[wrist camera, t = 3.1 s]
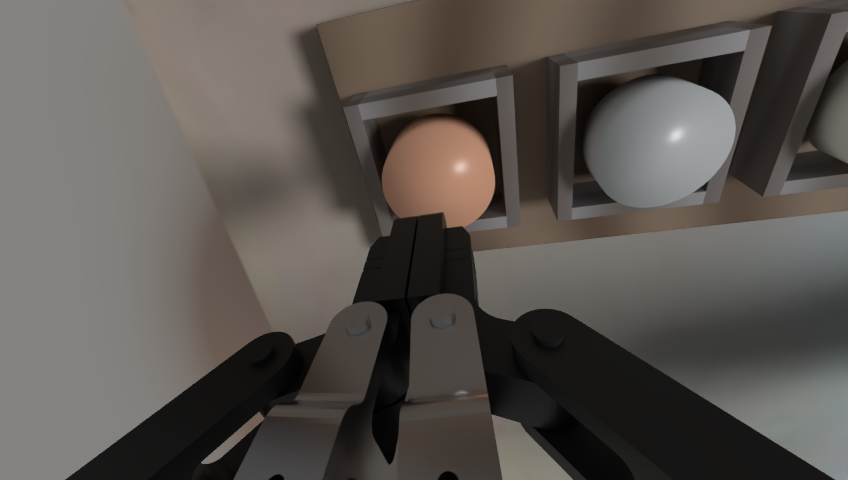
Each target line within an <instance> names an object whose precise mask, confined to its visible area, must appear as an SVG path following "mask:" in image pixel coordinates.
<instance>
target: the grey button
mask: <svg viewBox="0 0 848 480" xmlns="http://www.w3.org/2000/svg"><path fill="white" fill-rule="evenodd" d="M735 130H736V125H735V118H734V114H733V111H732V109H731V107H730V106H729V104H728V103H727V102H726V101H725V99H724V98H722V97H721V96H720V95H719V94H717V93H715V92H713V91H711V90H709V89H706V88H704V87H701V86H699V85H696V84H694V83H691V82H689V81H686V80H684V79H681V78H679V77H676V76H673V75H667V74H651V75H645V76H641V77H637V78H635V79H632V80H629V81H627V82H625V83H623V84H621V85H620V86H618V87H617V88H615V89H614V90H612V91H611V92H610V93H608V94H607V95H606V96H605V97H604V98H603V99H602V100H601V101H600V102H599V103H598V104H597V105H596V107H595V108H594V109H593V111H592V112H591V114H590V115H589V117H588V119H587V121H586V123H585V125H584V128H583V131H582V135H581V142H580V150H581V156H582V159H583V162H584V164H585V165H586V167H587V169H588V170H589V171H590V173H591V174H592V175H593V177H594V178H595V180H596V181H597V182H598V184H599V185H600V187H601V188H602V189H603V190H604V192H605V193H606V194H607V195H608V196H609V197H610V198H612V199H613V200H615V201H616V202H618V203H621V204H623V205H627V206H631V207H638V208H648V207H657V206H662V205H665V204H669V203H672V202H675V201H677V200H679V199H682V198H684V197H686V196H688V195H689V194H691V193H693V192H694V191H696V190H697V189H699V188H700V187H701V186H703V185H704V184H705V183H706V182H707V181H709V180H710V179H711V178H712V177H713V176H714V175H715V174H716V172H717V171H718V170H719V169H720V167H721V166H722V165H723V163H724V162H725V160H726V158H727V157H728V155H729V153H730V151H731V148H732V145H733V142H734V138H735Z"/></svg>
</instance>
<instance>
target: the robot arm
mask: <svg viewBox="0 0 848 480" xmlns="http://www.w3.org/2000/svg"><path fill="white" fill-rule="evenodd" d="M366 260H367V262H365V266H364V269H363V270H364V272H362V275H361V278H360V281H359V284H358V288H357V291H356V294H355V297H354V300H353V303H352V305H350V306H348V307H346V308H345V309H343V310H342V311H340V312H339V313H338V314H337V315H336V316H335V317H334V318H333V320H332V321H331V323H330V325H329V327H328V329H327V332H326V333H325V334H323V335H320V336H317V337H314V338H312V339H309V340H306V341H303V342H300V343H298V344H295V343H294V341H293V339H292V338H291V337H290V335H288V334H287V333H284V332H272V333H267V334H264V335H262V336H260V337H258V338H256V339H254V340H253V341H251V342H250V343H248V344H247V345H246V346H244V347H243V348H242V349H240V350H239V351H238V352H236V353H235V354H234V355H232V356H231V357H229V358H228V359H227V360H225V361H224V362H223V363H221V364H220V365H219V366H218V367H216V368H215V369H213V370H212V371H211V372H209V373H208V374H207V375H205V376H204V377H203V378H201V379H200V380H199V381H197V382H196V383H195V384H193V385H192V386H191V387H189V388H188V389H187V390H185V391H184V392H182V394H180V395H178V396H177V397H176V398H174V399H173V400H172V401H170V402H169V403H168V404H166V405H165V406H164V407H162V408H161V409H160V410H158V411H157V412H156V413H154V414H153V415H152V416H150V417H149V418H148V419H146V420H145V421H144V422H142V423H141V424H140V425H138V426H137V427H136V428H134V429H133V430H131V431H130V432H129V433H127V434H126V435H125V436H123V437H122V438H121V439H119V440H118V441H117V442H115V443H114V444H113V445H111V446H110V447H109V448H107V449H106V450H105V451H103V452H102V453H101V454H99V455H98V456H97V457H95V458H94V459H93V460H91V461H90V462H88V463H87V464H86V465H85V466H83V467H82V468H80V469H79V470H78V471H76V472H75V473H74V474H72V475H71V476H70V477H68V478H67V479H66V480H502V474H501V468H500V462H499V456H498V450H497V445H496V439H495V433H494V427H493V421H492V415H491V414H493V415H496V416H500V417H503V418H506V419H510V420H513V421H517V422H520V423H521V425H522V426H523V428H524V429H525V431H526V432H527V433H528V434H529V435H530V436H531V437H532V438H533V439H534V440H535V441H536V442H537V443H538V444H539V445H540V446H541V447H542V448H543V449H544V450H545V451H546V452H547V453H548V454H549V455H550V456H551V457H552V458H553V459H554V460H555V461H556V462H557V463H558V464H559V465H560V466H561V467H562V468H563V469H564V471H565V472H566V473H567V474H568V475H569V476H570V477H571V478H572V479H573V480H834V479H833V478H831V477H830V476H828V475H826V474H825V473H823V472H822V471H820V470H818V469H817V468H815V467H814V466H812V465H810V464H809V463H807V462H806V461H804V460H802V459H801V458H799V457H797V456H796V455H794V454H793V453H791V452H789V451H788V450H786V449H785V448H783V447H781V446H780V445H778V444H777V443H775V442H773V441H772V440H770V439H768V438H767V437H765V436H764V435H762V434H760V433H759V432H757V431H756V430H754V429H752V428H751V427H749V426H748V425H746V424H744V423H743V422H741V421H739V420H738V419H736V418H735V417H733V416H731V415H730V414H728V413H727V412H725V411H723V410H722V409H720V408H719V407H717V406H715V405H714V404H712V403H710V402H709V401H707V400H706V399H704V398H702V397H701V396H699V395H698V394H696V393H694V392H693V391H691V390H690V389H688V388H686V387H685V386H683V385H682V384H680V383H678V382H677V381H675V380H673V379H672V378H670V377H669V376H667V375H665V374H664V373H662V372H661V371H659V370H657V369H656V368H654V367H653V366H651V365H649V364H648V363H646V362H644V361H643V360H641V359H640V358H638V357H636V356H635V355H633V354H632V353H630V352H628V351H627V350H625V349H624V348H622V347H620V346H619V345H617V344H615V343H614V342H612V341H611V340H609V339H607V338H606V337H604V336H603V335H601V334H599V333H598V332H596V331H595V330H593V329H591V328H590V327H588V326H587V325H585V324H583V323H582V322H580V321H578V320H577V319H575V318H574V317H572V316H570V315H568V314H566V313H564V312H561V311H558V310H553V309H537V310H533V311H529V312H527V313H525V314H523V315H522V316H520V317H519V318H518V319H517V320H516V321H515V322H514V321H508V320H503V319H499V318H495V317H493V316H491V315H489V314H487V313H485V312H484V311H483V310H482V309H481V308H480V307H479V303H478V291H477V279H476V270H475V264H474V257H473V251H472V244H471V238H470V234H469V233H468V232H467V231H466V230H465V229H464V227H463V226H459V227H451V228H447V225H446V219H445V215H444V212H440V213H433V214H425V215H420V216H412V217H405V218H397V219H394V221H393V225H392V229H391V233H390V236H383V237H379V238H378V240H377V241H376V242H375V243H374V244H373V245H372V246H371V247H370V250H369V253H368V256H367V259H366ZM258 412H260V413H261V415H262V416H263V417H264V418H265V419H264V420H263V421H262V422H261V423H260V424H259V425H258V426H256V427H255V428H254V429H253V430H252V431H251V432H250V433H248V434H247V435H246V436H245V437H244V438H243V439H242V440H241V441H240V442H238V443H237V444H236V445H235V446H234V447H233V448H232V449H231V450H229V452H227V453H226V454H225V455H224V456H223V457H222V458H220V459H219V460H217V461H215V462H213V463H210V464H202V463H201V462H202V461H203V460H204V459H205V458H206V457H207V456H208V455H209V454H211V453H212V452H213V451H214V450H215V449H216V448H217V447H219V446H220V445H221V444H222V443H223V442H224V441H226V440H227V439H228V438H229V437H230V436H231V435H233V434H234V432H236V431H237V430H238V429H239V428H241V427H242V426H243V425H244V424H245V423H246V422H247V421H249V420H250V419H251V418H252V417H253V416H254V415H255V414H257V413H258Z"/></svg>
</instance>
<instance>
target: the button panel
mask: <svg viewBox="0 0 848 480" xmlns="http://www.w3.org/2000/svg"><path fill="white" fill-rule="evenodd" d="M316 25H317V29H318V32H319V35H320V38H321V41H322V45H323V48H324V51H325V54H326V57H327V60H328V64H329V67H330V70H331V73H332V76H333V79H334V83H335V86H336V89H337V92H338V95H339V99H340V102H341V105H342V108H343V111H344V114H345V118H346V121H347V124H348V127H349V130H350V134H351V137H352V140H353V143H354V146H355V149H356V153H357V156H358V159H359V162H360V165H361V169H362V172H363V175H364V178H365V181H366V184H367V188H368V191H369V194H370V197H371V200H372V203H373V207H374V210H375V213H376V216H377V219H378V223H379V226H380V229H381V232H382V235H383V236H390V233H391V229H392V225H393V221H394V219H397V218H399V217H398V216H397V215H396V214H395V213H394V212H393V210H392V209H391V208H390V206H389V205H388V203H387V201H386V199H385V196H384V193H383V188H382V172H383V167H384V164H385V162H386V159H387V157H388V154H389V152H390V149H391V147H392V145H393V142H394V140H395V138H396V137H397V135H398V134H399V132H400V131H401V130H402V129H403V128H404V127H405V126H406V125H407V124H409V123H410V122H411V121H413V120H415V119H417V118H419V117H421V116H424V115H428V114H434V113H446V114H452V115H456V116H459V117H461V118H463V119H465V120H467V121H469V122H470V123H472V124H473V125H474V126H475V127H476V128H477V129H478V130H479V131H480V132H481V133H482V135H483V136H484V138H485V139H486V142H487V144H488V146H489V149H490V154H491V159H492V164H493V169H494V175H495V189H494V193H493V197H492V199H491V202H490V204H489V205H488V207H487V209H486V210H485V211H484V213H483V214H482V215H481V216H480V217H479V218H478V219H476V220H475V221H474V222H472V223H471V224H469V225H467V226H465V227H464V229H465V230H466V231H467V232H468V233H469V234H470V238H471V244H472V251H482V250H491V249H501V248H510V247H519V246H528V245H537V244H546V243H555V242H565V241H574V240H583V239H592V238H601V237H610V236H619V235H629V234H638V233H647V232H656V231H665V230H674V229H683V228H693V227H702V226H711V225H720V224H729V223H738V222H747V221H757V220H766V219H775V218H784V217H793V216H802V215H812V214H821V213H830V212H839V211H848V163H846V162H843V161H841V160H839V159H837V158H834V157H832V156H830V155H828V154H825V153H823V152H821V151H819V150H817V149H816V148H815V147H814V146H813V145H812V144H811V143H810V141H809V139H808V137H807V134H806V129H807V127H808V124H809V122H810V120H811V117H812V115H813V112H814V110H815V107H816V105H817V102H818V100H819V97H820V95H821V92H822V90H823V87H824V85H825V83H826V81H827V80H828V78H829V77H830V76H831V75H832V74H833V73H834V72H835V71H836V70H837V69H838V68H839V67H840V66H841V65H842V64H844V63H845V62H846V61H847V60H848V0H416V1H411V2H407V3H403V4H399V5H395V6H390V7H386V8H382V9H378V10H374V11H369V12H365V13H361V14H357V15H352V16H348V17H344V18H340V19H336V20H331V21H327V22H323V23H319V24H316ZM651 74H667V75H673V76H676V77H679V78H681V79H684V80H686V81H689V82H691V83H694V84H696V85H699V86H701V87H704V88H706V89H709V90H711V91H713V92H715V93H717V94H719V95H720V96H721V97H722V98H724V99H725V101H726V102H727V103H728V104H729V106H730V107H731V109H732V111H733V114H734V118H735V125H736V130H735V138H734V142H733V145H732V148H731V151H730V153H729V155H728V157H727V158H726V160H725V162H724V163H723V165H722V166H721V167H720V169H719V170H718V171H717V172H716V174H715V175H714V176H713V177H712V178H711V179H710V180H709V181H707V182H706V183H705V184H704V185H703V186H701V187H700V188H699V189H697V190H696V191H694V192H693V193H691V194H689V195H688V196H686V197H684V198H682V199H679V200H677V201H675V202H672V203H669V204H665V205H662V206H657V207H648V208H638V207H631V206H627V205H623V204H621V203H618V202H616V201H615V200H613V199H612V198H610V197H609V196H608V195H607V194H606V193H605V192H604V190H603V189H602V188H601V187H600V185H599V184H598V182H597V181H596V180H595V178H594V177H593V175H592V174H591V173H590V171H589V170H588V169H587V167H586V165H585V164H584V162H583V159H582V156H581V150H580V142H581V135H582V131H583V128H584V125H585V123H586V121H587V119H588V117H589V115H590V114H591V112H592V111H593V109H594V108H595V107H596V105H597V104H598V103H599V102H600V101H601V100H602V99H603V98H604V97H605V96H606V95H607V94H608V93H610V92H611V91H612V90H614V89H615V88H617V87H618V86H620V85H621V84H623V83H625V82H627V81H629V80H632V79H635V78H637V77H641V76H645V75H651Z"/></svg>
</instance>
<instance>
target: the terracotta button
mask: <svg viewBox="0 0 848 480" xmlns="http://www.w3.org/2000/svg"><path fill="white" fill-rule="evenodd" d="M382 188H383V193H384V196H385V199H386V201H387V203H388V205H389V206H390V208H391V209H392V210H393V212H394V213H395V214H396V215H397V216H398V217H399V218H405V217H412V216H420V215H425V214H433V213H440V212H444V215H445V219H446V225H447V228H451V227H459V226H463V227H465V226H467V225H469V224H471V223H472V222H474V221H475V220H476V219H478V218H479V217H480V216H481V215H482V214H483V213H484V211H485V210H486V209H487V207H488V205H489V204H490V202H491V199H492V197H493V193H494V189H495V175H494V169H493V164H492V159H491V154H490V149H489V146H488V144H487V142H486V139H485V138H484V136H483V135H482V133H481V132H480V131H479V130H478V129H477V128H476V127H475V126H474V125H473V124H472V123H470V122H469V121H467V120H465V119H463V118H461V117H459V116H456V115H452V114H446V113H434V114H428V115H424V116H421V117H419V118H417V119H415V120H413V121H411V122H410V123H409V124H407V125H406V126H405V127H404V128H403V129H402V130H401V131H400V132H399V134H398V135H397V137H396V138H395V140H394V142H393V145H392V147H391V149H390V152H389V154H388V157H387V159H386V162H385V164H384V167H383V172H382Z"/></svg>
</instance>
